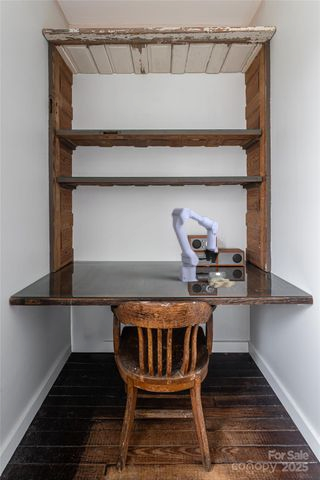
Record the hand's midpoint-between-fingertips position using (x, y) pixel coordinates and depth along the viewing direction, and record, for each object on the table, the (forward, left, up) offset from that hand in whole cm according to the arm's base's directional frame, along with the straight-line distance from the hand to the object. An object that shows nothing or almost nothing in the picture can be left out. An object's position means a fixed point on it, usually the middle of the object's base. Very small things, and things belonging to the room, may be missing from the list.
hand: (210, 262), depth 196 cm
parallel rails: (-3, -22, -9) cm, 24 cm away
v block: (-3, -14, -9) cm, 17 cm away
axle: (-2, -14, -5) cm, 15 cm away
